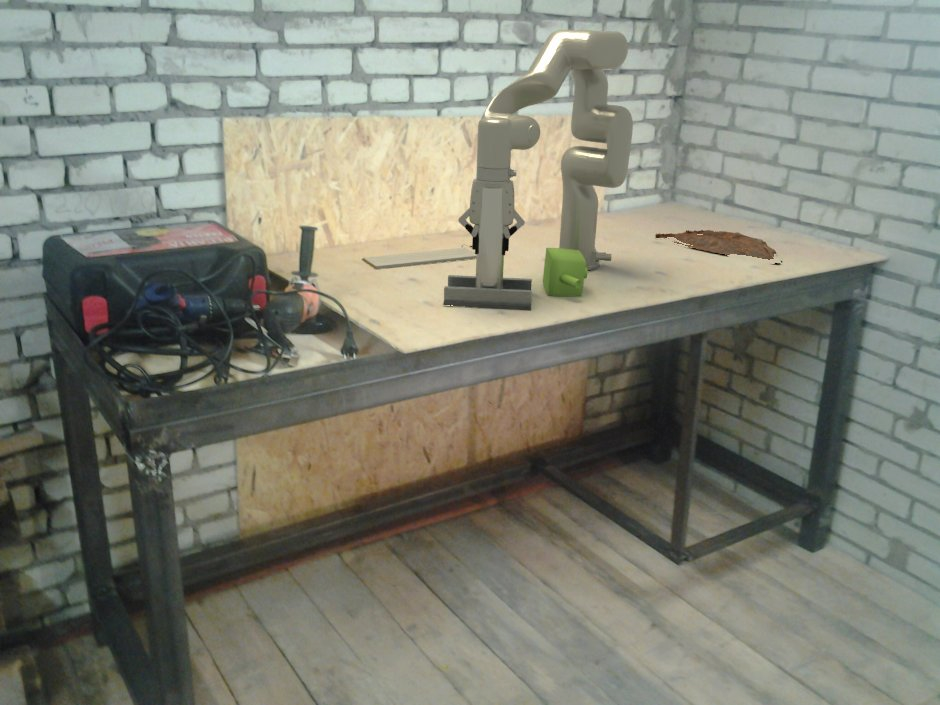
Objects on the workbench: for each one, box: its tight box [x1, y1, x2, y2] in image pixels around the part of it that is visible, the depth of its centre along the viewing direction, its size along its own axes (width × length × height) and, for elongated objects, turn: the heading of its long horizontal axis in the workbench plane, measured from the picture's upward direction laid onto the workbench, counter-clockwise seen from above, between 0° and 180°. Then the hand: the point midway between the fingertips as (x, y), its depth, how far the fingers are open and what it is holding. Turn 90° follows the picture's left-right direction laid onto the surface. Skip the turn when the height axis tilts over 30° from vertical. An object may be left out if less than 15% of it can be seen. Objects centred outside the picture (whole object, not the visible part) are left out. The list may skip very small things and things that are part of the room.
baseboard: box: [361, 243, 477, 270], centre depth 239 cm, size 31×3×12 cm
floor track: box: [442, 274, 533, 311], centre depth 205 cm, size 20×13×4 cm, turn 86°
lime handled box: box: [542, 247, 589, 297], centre depth 212 cm, size 18×10×10 cm, turn 3°
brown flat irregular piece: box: [655, 229, 781, 265], centre depth 261 cm, size 40×28×5 cm
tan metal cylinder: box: [475, 184, 505, 289], centre depth 200 cm, size 6×6×25 cm
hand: (490, 252), depth 202 cm, fingers closed on tan metal cylinder, 5 cm apart
